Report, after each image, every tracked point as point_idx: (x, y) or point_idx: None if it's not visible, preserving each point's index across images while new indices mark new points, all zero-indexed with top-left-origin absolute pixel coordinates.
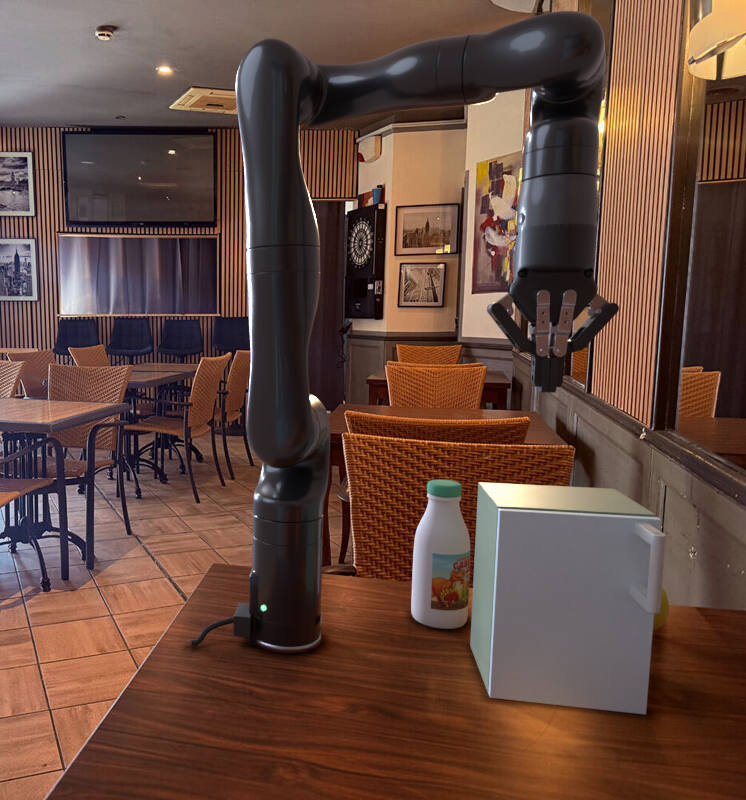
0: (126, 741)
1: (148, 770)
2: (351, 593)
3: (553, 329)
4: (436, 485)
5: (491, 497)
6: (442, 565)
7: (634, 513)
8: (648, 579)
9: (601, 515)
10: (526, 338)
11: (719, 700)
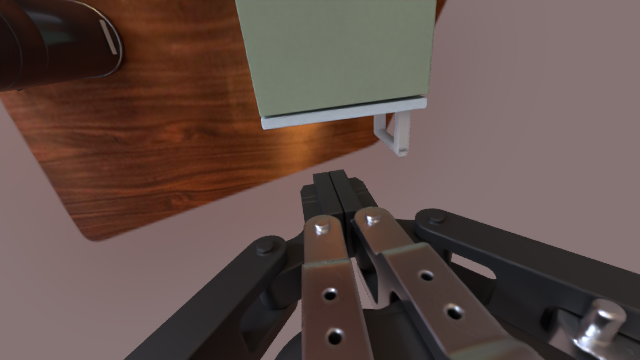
0: (83, 208)
1: (113, 222)
2: None
3: (383, 302)
4: None
5: (251, 70)
6: None
7: (407, 95)
8: (382, 139)
9: (370, 112)
10: (284, 319)
11: None
